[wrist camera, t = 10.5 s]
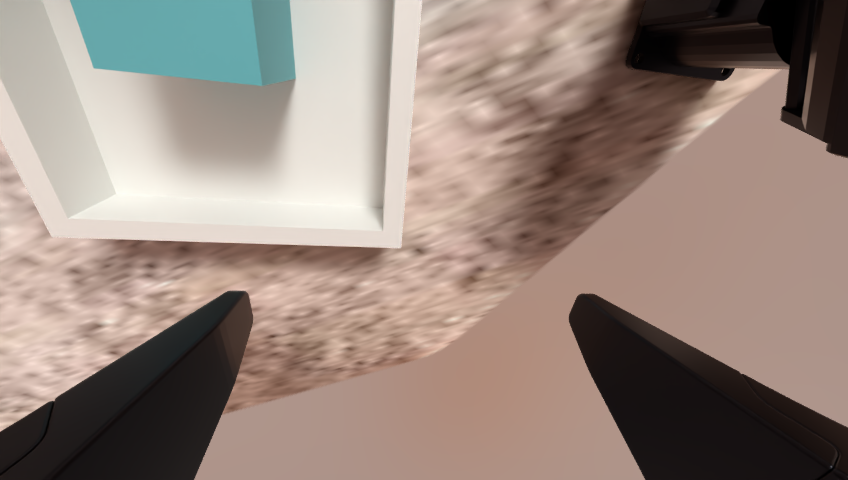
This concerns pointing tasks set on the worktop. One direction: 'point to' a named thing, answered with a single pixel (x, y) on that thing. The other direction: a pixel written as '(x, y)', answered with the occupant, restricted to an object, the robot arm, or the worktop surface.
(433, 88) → the worktop surface
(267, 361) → the worktop surface
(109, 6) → the teal block
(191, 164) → the grey tray
